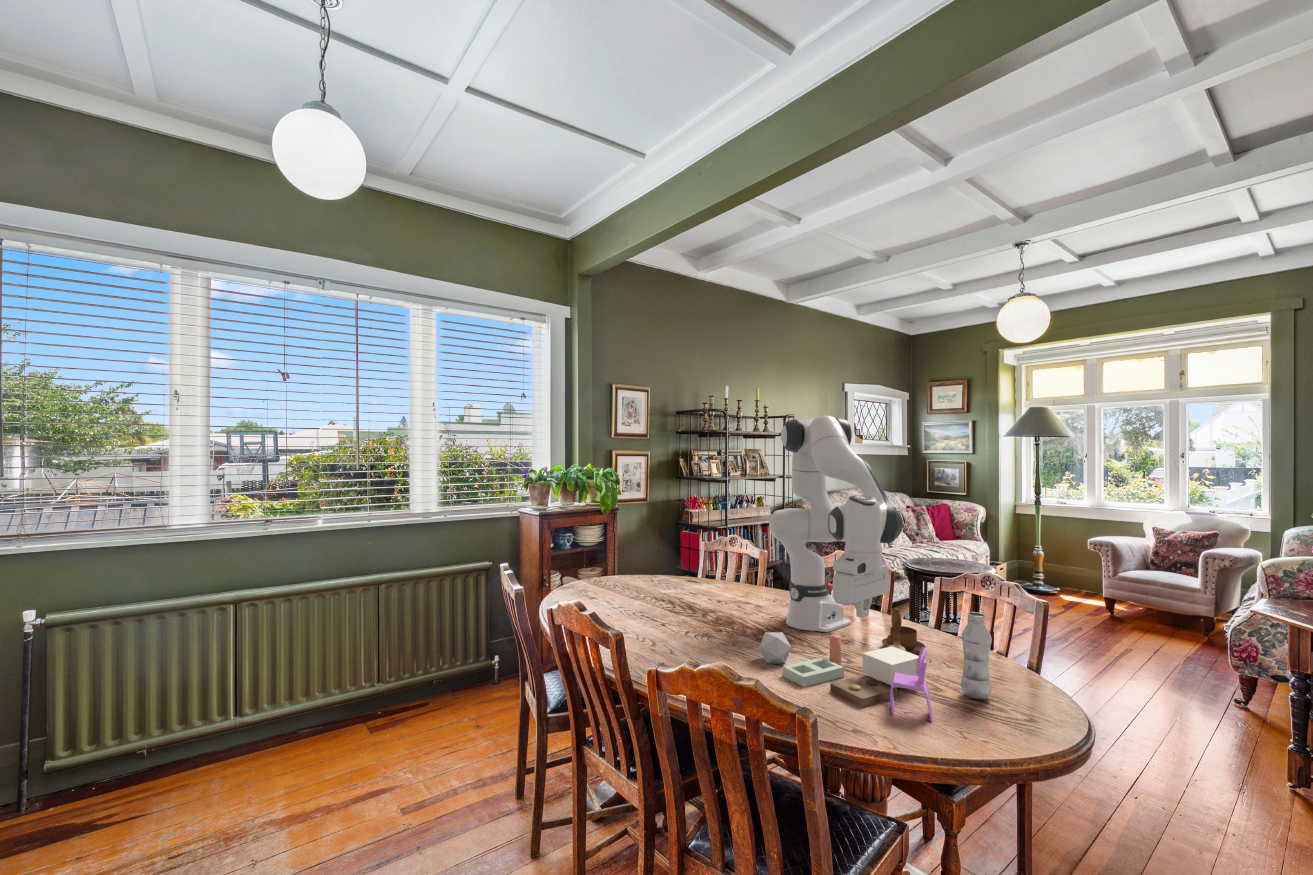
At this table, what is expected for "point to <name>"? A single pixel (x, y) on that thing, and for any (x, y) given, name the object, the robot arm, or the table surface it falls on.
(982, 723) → the table surface
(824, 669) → the socket board
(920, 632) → the table surface
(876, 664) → the white block
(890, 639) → the cup and saucer
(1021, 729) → the table surface
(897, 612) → the hand bell
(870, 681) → the pattern board
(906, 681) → the toy chair
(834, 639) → the terracotta peg
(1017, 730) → the table surface
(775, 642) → the die
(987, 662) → the plastic bottle
